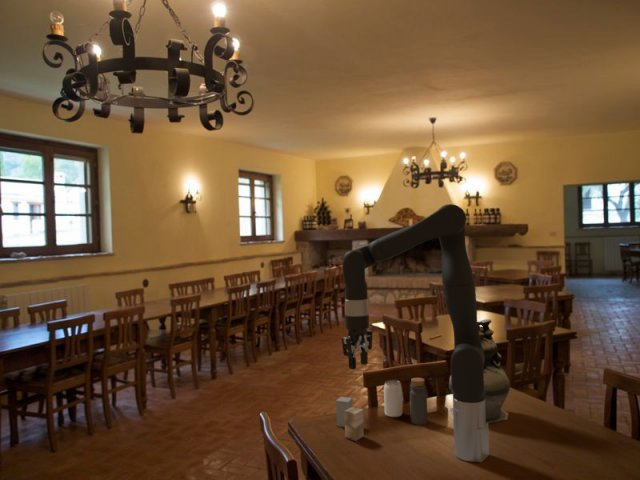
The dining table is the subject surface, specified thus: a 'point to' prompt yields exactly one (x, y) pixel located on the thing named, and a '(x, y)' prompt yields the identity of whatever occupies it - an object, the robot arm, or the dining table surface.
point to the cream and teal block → (354, 423)
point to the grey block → (342, 409)
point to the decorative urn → (492, 376)
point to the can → (393, 398)
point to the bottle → (418, 402)
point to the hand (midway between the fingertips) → (358, 366)
